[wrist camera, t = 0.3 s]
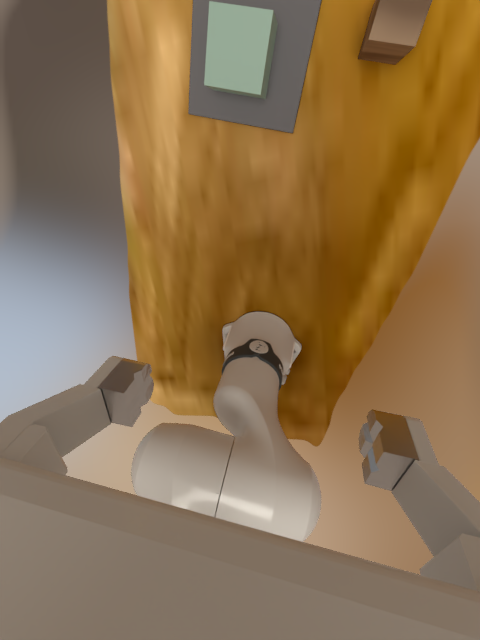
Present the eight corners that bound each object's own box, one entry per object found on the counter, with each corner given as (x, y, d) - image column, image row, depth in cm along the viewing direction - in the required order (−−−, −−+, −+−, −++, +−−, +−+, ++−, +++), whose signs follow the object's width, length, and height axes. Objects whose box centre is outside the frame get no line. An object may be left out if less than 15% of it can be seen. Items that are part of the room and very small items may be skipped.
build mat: (292, 133, 44) (292, 133, 44) (189, 114, 46) (188, 113, 45) (323, -8, 36) (323, -10, 35) (195, -25, 37) (194, -27, 37)
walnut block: (395, 64, 38) (415, 46, 30) (357, 58, 38) (368, 39, 31) (413, 11, 35) (440, -23, 28) (373, 5, 36) (388, -30, 28)
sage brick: (265, 99, 42) (260, 94, 38) (214, 90, 43) (204, 85, 39) (277, 24, 38) (273, 10, 34) (220, 15, 38) (209, 0, 34)
